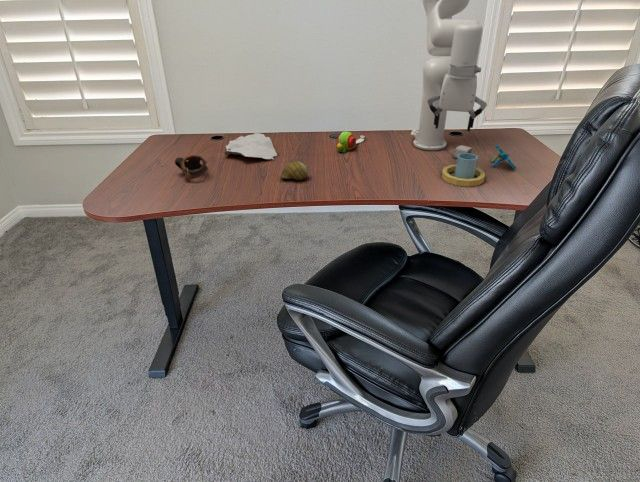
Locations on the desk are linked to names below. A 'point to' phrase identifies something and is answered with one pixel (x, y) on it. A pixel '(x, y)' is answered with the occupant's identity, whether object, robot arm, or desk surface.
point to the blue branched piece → (502, 157)
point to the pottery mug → (192, 166)
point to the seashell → (295, 171)
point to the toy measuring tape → (348, 141)
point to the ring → (461, 181)
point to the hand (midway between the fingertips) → (452, 128)
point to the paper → (252, 146)
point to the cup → (466, 166)
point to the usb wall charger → (461, 150)
